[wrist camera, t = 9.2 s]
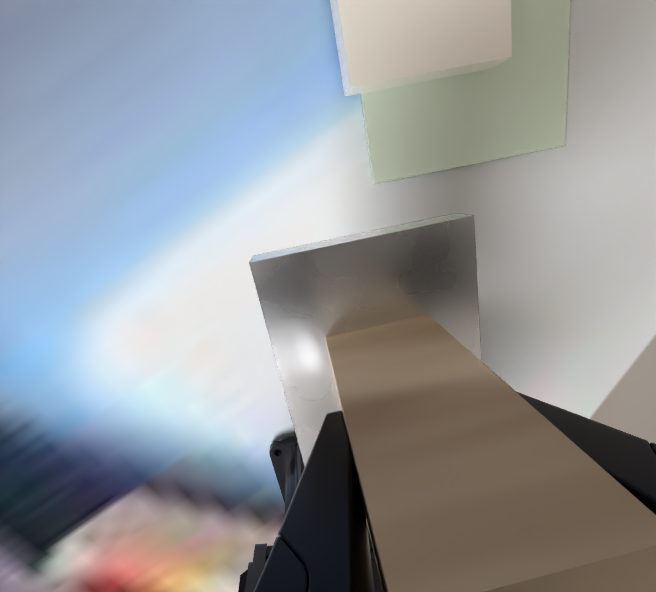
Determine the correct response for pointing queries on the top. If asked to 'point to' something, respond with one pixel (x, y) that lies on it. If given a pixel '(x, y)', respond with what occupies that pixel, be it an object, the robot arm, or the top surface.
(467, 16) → the tile
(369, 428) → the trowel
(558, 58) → the mat
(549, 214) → the top surface
